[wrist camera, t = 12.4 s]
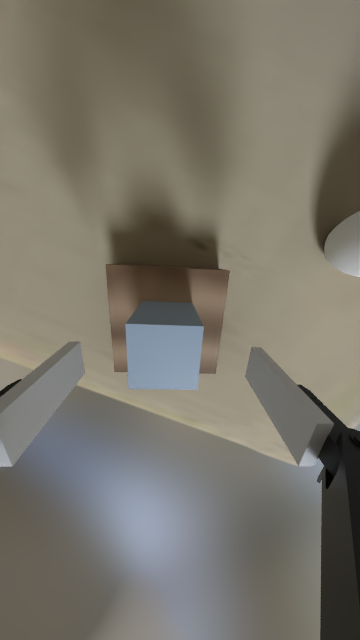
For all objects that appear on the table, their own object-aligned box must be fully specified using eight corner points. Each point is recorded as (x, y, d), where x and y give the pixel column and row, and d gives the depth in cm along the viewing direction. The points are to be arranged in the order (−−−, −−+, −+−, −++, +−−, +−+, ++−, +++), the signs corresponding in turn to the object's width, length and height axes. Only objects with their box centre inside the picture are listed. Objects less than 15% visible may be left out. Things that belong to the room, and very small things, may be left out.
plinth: (118, 263, 24) (105, 264, 19) (218, 268, 25) (229, 270, 20) (124, 353, 28) (114, 371, 24) (208, 355, 29) (215, 373, 24)
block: (142, 300, 21) (125, 323, 13) (192, 302, 21) (203, 326, 13) (143, 346, 23) (128, 388, 15) (189, 347, 23) (197, 389, 15)
